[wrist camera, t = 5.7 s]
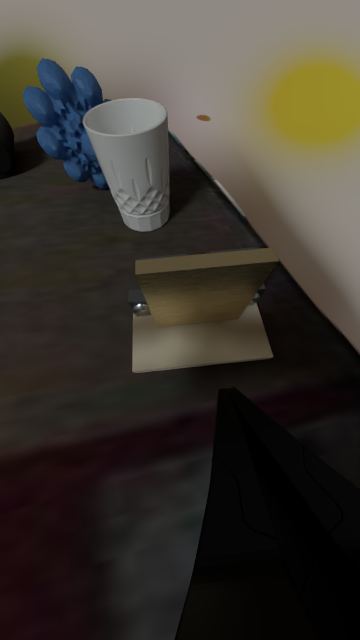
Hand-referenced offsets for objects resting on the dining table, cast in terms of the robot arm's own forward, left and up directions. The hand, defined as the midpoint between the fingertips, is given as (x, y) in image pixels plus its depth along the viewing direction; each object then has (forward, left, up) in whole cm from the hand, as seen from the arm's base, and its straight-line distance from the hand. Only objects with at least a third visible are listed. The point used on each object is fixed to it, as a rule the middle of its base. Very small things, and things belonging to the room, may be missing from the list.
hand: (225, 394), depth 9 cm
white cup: (+23, -10, -8) cm, 26 cm away
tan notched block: (+7, -5, -6) cm, 11 cm away
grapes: (+32, -9, -8) cm, 34 cm away
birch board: (+5, -4, -8) cm, 10 cm away
